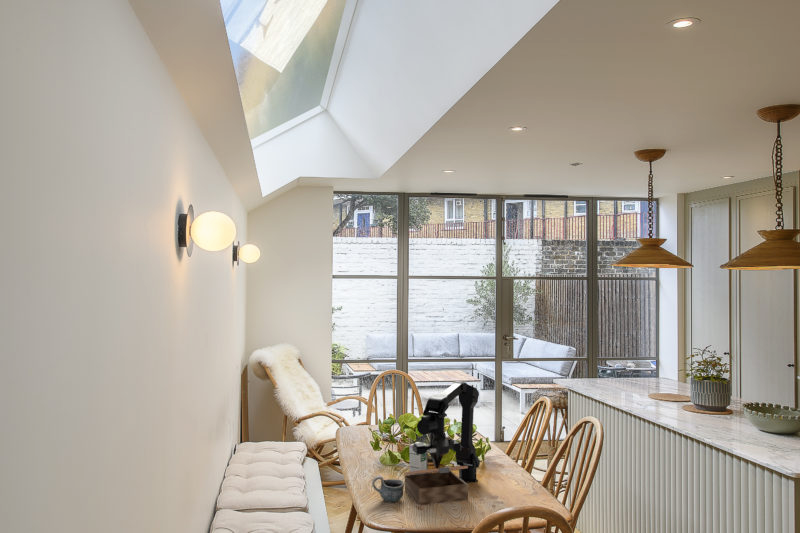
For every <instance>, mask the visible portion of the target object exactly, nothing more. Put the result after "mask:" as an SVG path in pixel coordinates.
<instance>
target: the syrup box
mask: <svg viewBox="0 0 800 533" xmlns="http://www.w3.org/2000/svg"><path fill="white" fill-rule="evenodd" d="M415 443H423V444H424V445H428V444H427V443H425V442H420V441H416V442H415ZM413 445H414V443H411V444H409V448H408V449H409V472H412V471H418V470H428V467H429V466H428V452H426V453H425V454H416V453H415V452H414V451H413ZM422 474H425V473H422ZM412 475H415V474H412Z"/></svg>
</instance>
